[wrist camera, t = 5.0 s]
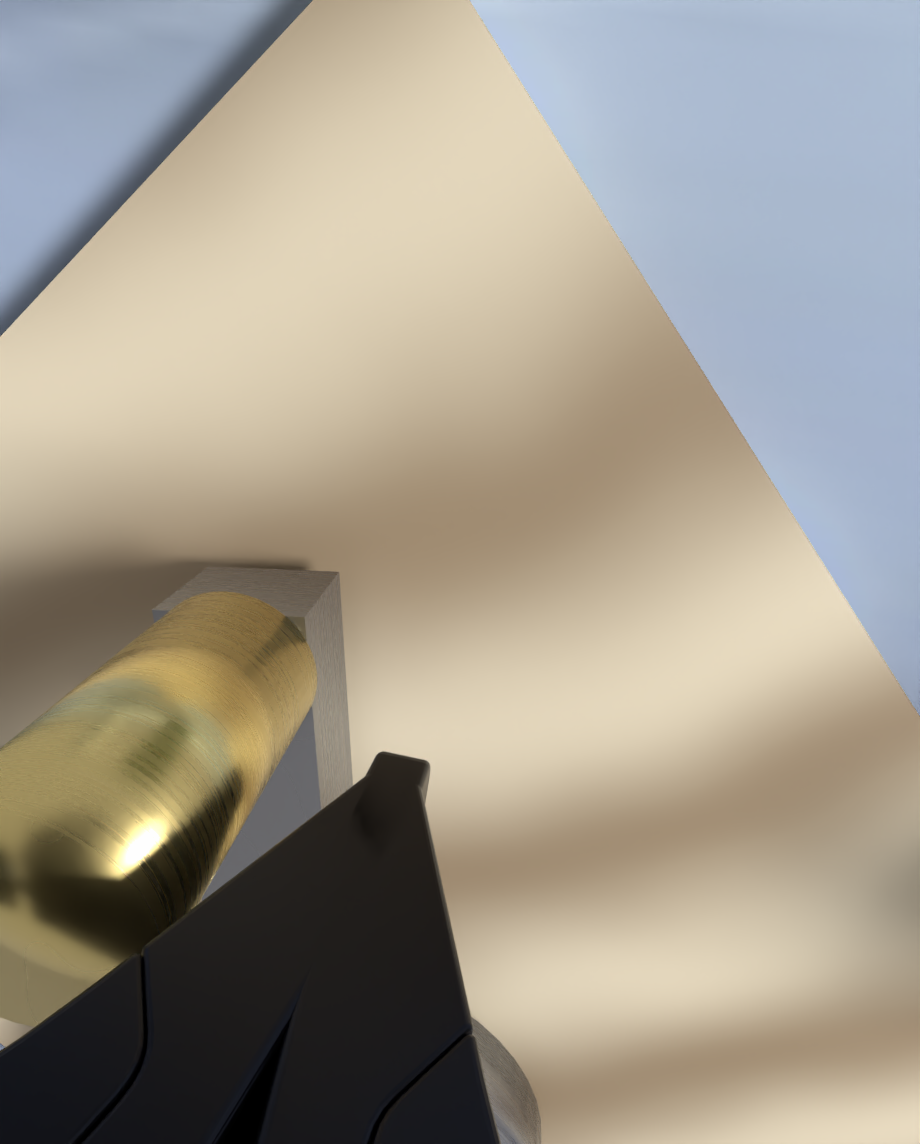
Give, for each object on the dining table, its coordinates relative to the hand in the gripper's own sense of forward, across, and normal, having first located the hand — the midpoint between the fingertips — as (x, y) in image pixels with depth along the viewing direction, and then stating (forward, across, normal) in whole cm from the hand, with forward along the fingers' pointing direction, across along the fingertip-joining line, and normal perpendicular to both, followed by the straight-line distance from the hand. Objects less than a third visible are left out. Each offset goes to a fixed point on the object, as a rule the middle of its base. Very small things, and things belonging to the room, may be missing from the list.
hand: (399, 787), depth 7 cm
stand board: (+4, 0, +6) cm, 8 cm away
